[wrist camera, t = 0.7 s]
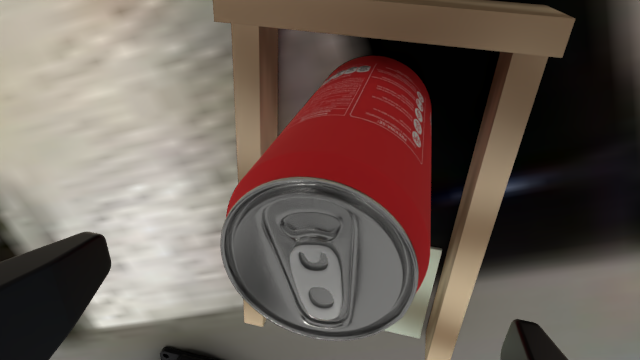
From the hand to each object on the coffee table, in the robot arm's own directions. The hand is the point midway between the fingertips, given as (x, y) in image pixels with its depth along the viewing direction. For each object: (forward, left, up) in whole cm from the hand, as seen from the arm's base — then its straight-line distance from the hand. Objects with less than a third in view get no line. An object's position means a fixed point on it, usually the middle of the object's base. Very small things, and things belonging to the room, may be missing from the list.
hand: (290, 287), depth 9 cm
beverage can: (0, 0, -13) cm, 13 cm away
